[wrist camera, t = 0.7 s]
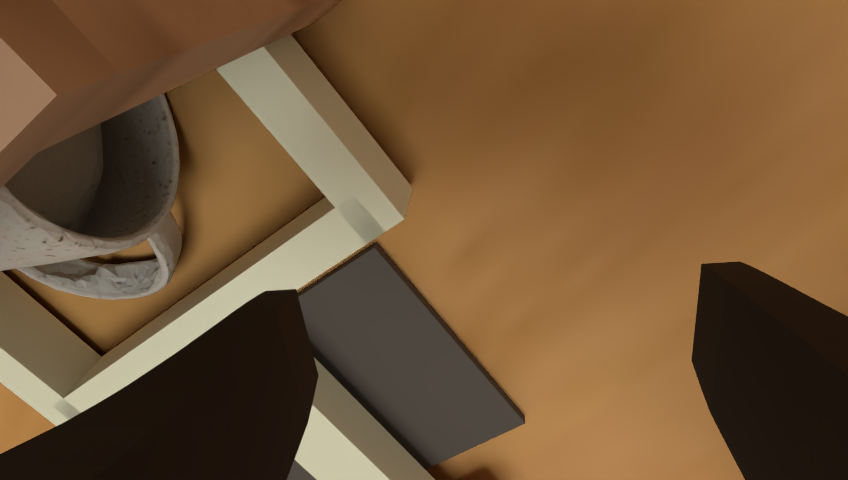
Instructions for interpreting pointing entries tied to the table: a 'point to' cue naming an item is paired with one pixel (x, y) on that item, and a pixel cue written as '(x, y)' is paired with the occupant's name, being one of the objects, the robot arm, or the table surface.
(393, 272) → the pit
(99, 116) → the arch
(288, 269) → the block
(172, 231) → the ceramic mug
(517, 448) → the table surface
